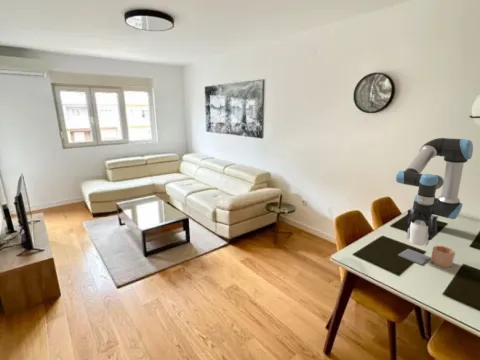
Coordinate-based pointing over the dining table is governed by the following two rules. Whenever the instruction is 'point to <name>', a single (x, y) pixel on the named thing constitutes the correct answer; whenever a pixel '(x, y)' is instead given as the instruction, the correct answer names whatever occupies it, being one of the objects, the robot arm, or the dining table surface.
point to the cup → (418, 232)
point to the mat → (414, 256)
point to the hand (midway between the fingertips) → (417, 241)
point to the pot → (442, 256)
